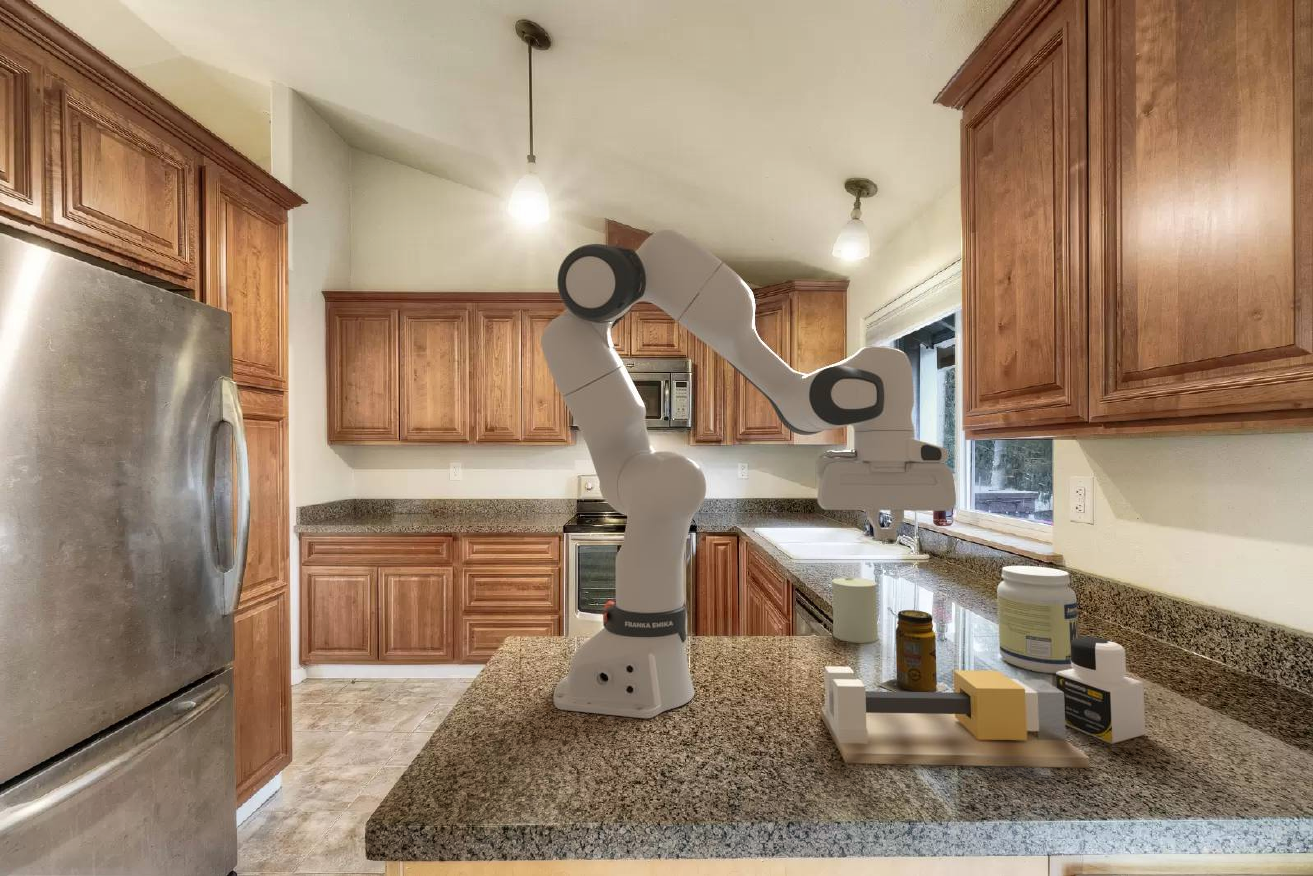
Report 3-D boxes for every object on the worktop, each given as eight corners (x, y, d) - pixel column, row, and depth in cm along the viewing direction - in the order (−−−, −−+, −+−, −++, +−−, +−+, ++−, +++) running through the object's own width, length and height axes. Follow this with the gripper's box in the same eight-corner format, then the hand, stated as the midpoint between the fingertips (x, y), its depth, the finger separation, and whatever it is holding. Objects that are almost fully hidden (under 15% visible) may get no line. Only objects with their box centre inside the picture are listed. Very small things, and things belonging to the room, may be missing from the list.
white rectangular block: (1023, 730, 73) (1021, 692, 74) (1002, 714, 78) (1001, 678, 78) (1039, 731, 73) (1037, 692, 74) (1017, 714, 78) (1016, 678, 78)
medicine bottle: (1056, 722, 81) (1053, 636, 82) (1090, 714, 84) (1086, 630, 84) (1112, 745, 74) (1108, 651, 75) (1146, 735, 77) (1142, 645, 77)
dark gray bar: (837, 712, 76) (836, 697, 76) (833, 706, 78) (833, 691, 78) (1039, 715, 75) (1038, 699, 75) (1030, 708, 77) (1029, 693, 77)
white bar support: (839, 743, 73) (838, 687, 73) (824, 715, 81) (823, 665, 81) (867, 743, 73) (866, 687, 73) (850, 716, 81) (848, 665, 81)
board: (845, 763, 71) (845, 753, 71) (821, 716, 84) (820, 708, 84) (1089, 767, 69) (1089, 757, 69) (1026, 719, 82) (1026, 711, 82)
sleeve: (978, 739, 73) (976, 688, 73) (955, 717, 79) (953, 670, 80) (1026, 740, 73) (1025, 688, 73) (999, 717, 79) (997, 670, 79)
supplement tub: (1085, 680, 96) (1080, 579, 97) (1000, 668, 102) (997, 573, 103) (1074, 658, 107) (1070, 567, 108) (998, 649, 113) (995, 562, 114)
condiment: (948, 689, 93) (946, 614, 94) (918, 701, 89) (916, 623, 89) (907, 675, 99) (905, 605, 100) (877, 686, 95) (875, 613, 95)
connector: (1038, 740, 73) (1036, 692, 74) (1018, 724, 78) (1017, 679, 78) (1066, 740, 73) (1064, 692, 74) (1044, 724, 78) (1042, 679, 78)
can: (867, 629, 127) (865, 574, 127) (886, 642, 117) (884, 583, 118) (826, 630, 126) (825, 575, 127) (842, 643, 117) (841, 584, 117)
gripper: (820, 450, 87) (821, 541, 87) (959, 450, 86) (961, 543, 85) (812, 451, 94) (813, 536, 93) (941, 451, 92) (943, 538, 91)
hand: (885, 539), depth 89 cm, fingers closed
